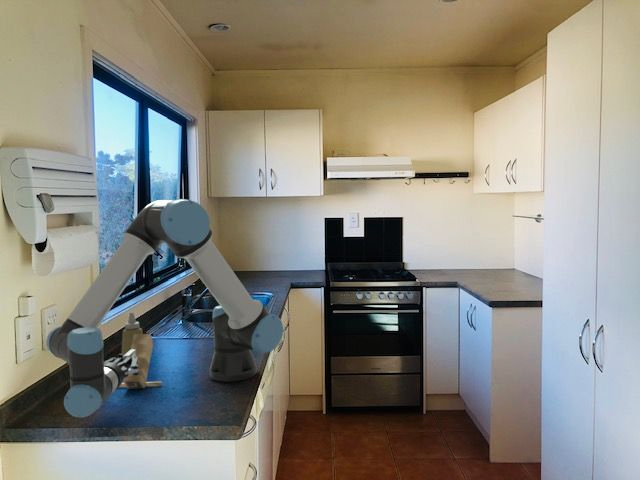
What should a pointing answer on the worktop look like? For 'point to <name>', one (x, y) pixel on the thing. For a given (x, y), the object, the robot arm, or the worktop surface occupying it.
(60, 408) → the worktop surface
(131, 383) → the oak block
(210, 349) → the worktop surface
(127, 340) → the squeeze bottle
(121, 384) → the maple strip
